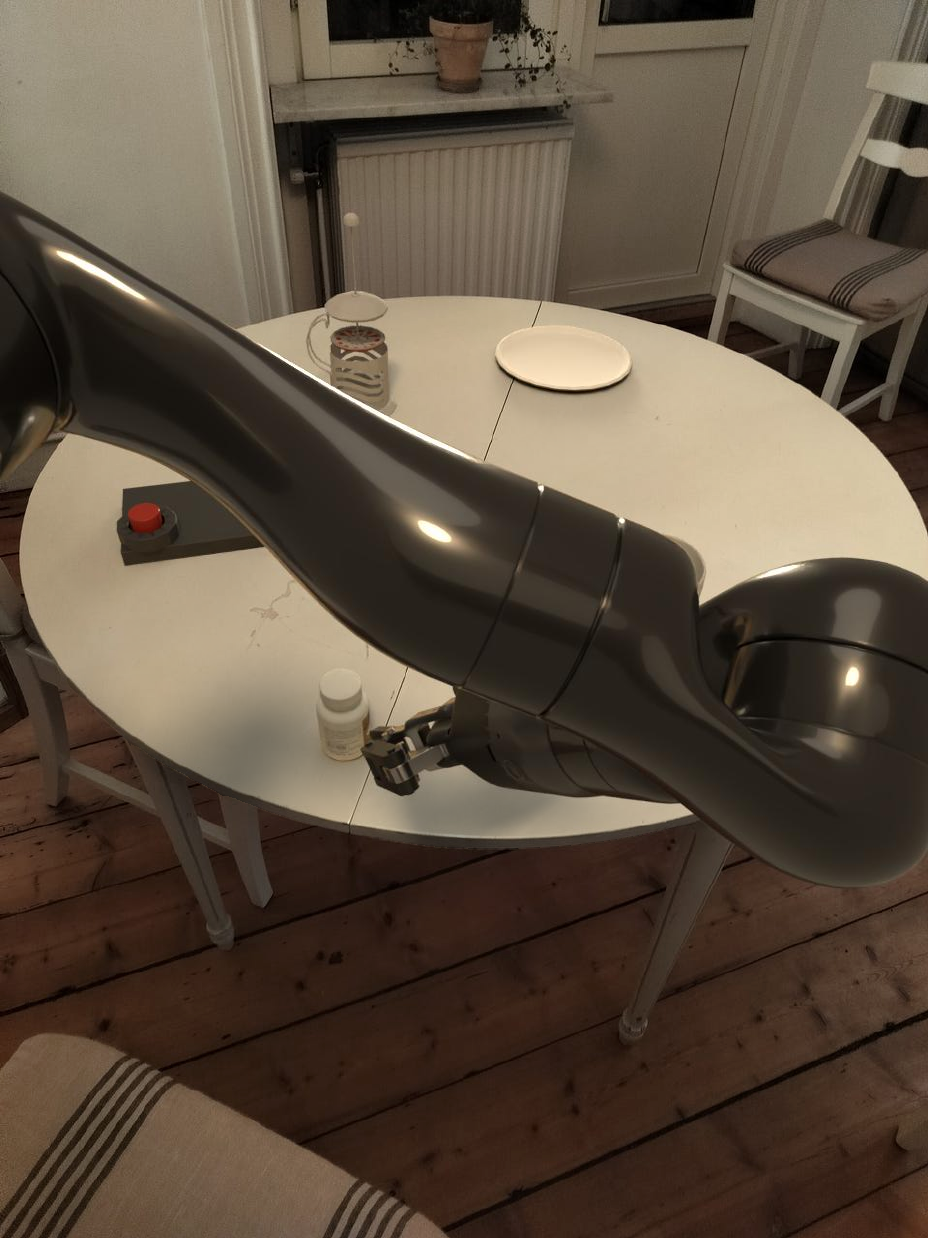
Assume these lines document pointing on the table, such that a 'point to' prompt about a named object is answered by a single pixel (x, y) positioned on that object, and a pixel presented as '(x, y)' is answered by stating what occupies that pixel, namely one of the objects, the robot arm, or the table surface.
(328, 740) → the pill bottle
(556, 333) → the plate
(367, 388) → the french press
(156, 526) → the button
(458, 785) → the table surface
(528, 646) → the robot arm
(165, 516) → the black button box
